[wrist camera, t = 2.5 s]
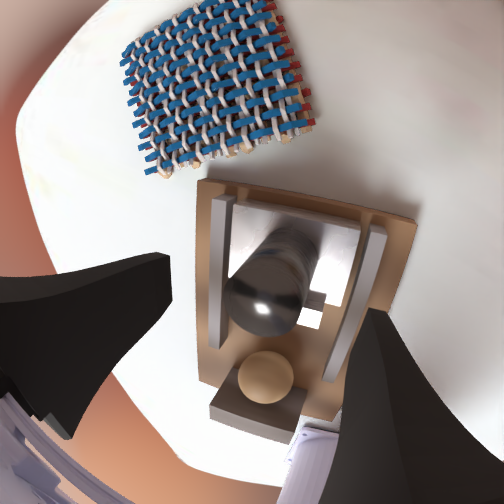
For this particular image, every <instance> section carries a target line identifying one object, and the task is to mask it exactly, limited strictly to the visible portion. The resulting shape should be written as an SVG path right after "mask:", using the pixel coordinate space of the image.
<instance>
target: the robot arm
mask: <svg viewBox="0 0 504 504" xmlns="http://www.w3.org/2000/svg"><path fill="white" fill-rule="evenodd" d="M172 301H173V300H172V286H171V268H170V256H169V255H166V254H162V253H159V252H154V253H147V254H142V255H138V256H134V257H130V258H126V259H122V260H119V261H115V262H111V263H107V264H104V265H99V266H95V267H91V268H87V269H83V270H78V271H73V272H68V273H62V274H55V275H46V276H34V277H0V504H78V503H76V502H75V501H74V500H72V499H71V498H70V497H69V496H68V495H66V494H65V493H64V492H63V491H62V490H60V489H59V488H58V487H57V485H58V484H59V483H60V482H61V480H60V478H59V477H58V476H57V475H56V473H55V472H54V471H53V470H52V469H51V468H50V467H48V465H46V463H44V462H43V461H42V460H41V459H40V458H39V457H38V456H37V455H36V454H35V453H34V452H33V451H32V450H31V449H29V448H28V447H27V446H26V445H25V437H26V438H27V439H28V441H29V442H30V443H31V444H32V445H33V446H34V447H35V448H36V450H38V452H39V453H40V454H41V455H42V456H43V457H44V458H45V459H46V460H47V461H48V462H49V463H50V464H51V465H52V466H53V467H54V468H55V469H56V470H58V471H59V472H60V473H61V474H62V475H63V476H64V477H65V478H66V479H68V480H69V481H70V482H71V483H72V484H73V485H75V486H76V487H77V488H78V489H79V490H81V491H82V492H83V493H84V494H86V495H87V496H88V497H90V498H91V499H92V500H93V501H95V502H96V503H97V504H135V503H133V502H132V501H130V500H128V499H127V498H125V497H124V496H122V495H120V494H119V493H117V492H116V491H114V490H113V489H111V488H110V487H109V486H107V485H106V484H104V483H103V482H102V481H100V480H99V479H97V478H96V477H95V476H93V475H92V474H91V473H89V472H88V471H87V470H86V469H84V468H83V467H82V466H81V465H80V464H78V463H77V462H76V461H75V460H74V459H72V458H71V457H70V456H69V455H68V454H67V453H65V452H64V451H63V450H62V449H61V448H60V447H59V446H58V445H57V444H56V443H55V442H53V440H51V439H50V438H49V437H48V436H47V435H46V434H45V433H44V432H43V431H42V430H41V429H40V427H38V425H37V424H36V423H35V422H34V421H33V420H32V419H31V418H30V417H31V416H32V415H34V416H35V417H36V418H37V419H38V420H39V421H42V420H44V421H45V422H46V423H47V424H48V425H49V426H50V427H51V428H52V429H53V430H54V431H55V432H56V433H57V434H58V435H59V436H60V437H62V438H63V439H65V440H69V439H72V437H73V435H74V433H75V431H76V428H77V426H78V424H79V422H80V420H81V418H82V416H83V414H84V413H85V411H86V409H87V407H88V405H89V404H90V402H91V400H92V398H93V397H94V395H95V394H96V392H97V391H98V389H99V388H100V386H101V385H102V383H103V382H104V380H105V379H106V378H107V376H108V375H109V374H110V372H111V371H112V370H113V368H114V367H115V366H116V364H117V363H118V362H119V361H120V360H121V358H122V357H123V356H124V355H125V354H126V353H127V352H128V351H129V350H130V349H131V348H132V347H133V346H134V345H135V344H136V343H137V342H138V341H139V340H140V339H141V338H142V337H143V336H144V335H145V334H146V333H147V332H148V331H149V330H150V328H151V327H152V326H153V325H154V324H155V323H156V322H157V321H158V320H159V319H160V318H161V316H162V315H163V314H164V312H165V311H166V309H167V308H168V307H169V305H170V304H171V302H172ZM284 462H285V463H286V464H290V465H291V466H290V469H289V471H288V474H287V477H286V480H285V482H284V485H283V488H282V490H281V493H280V496H279V498H278V501H277V503H276V504H504V463H503V462H502V461H501V460H499V459H498V458H497V457H496V456H494V455H493V454H492V453H491V452H489V451H488V450H487V449H486V448H485V447H484V446H483V445H482V444H481V443H480V442H479V441H478V440H477V439H476V438H474V436H473V435H472V434H471V433H470V432H469V431H468V430H467V429H466V428H465V427H464V426H463V425H462V424H461V423H460V421H459V420H458V419H457V418H456V417H455V416H454V415H453V414H452V412H451V411H450V410H449V409H448V408H447V406H446V405H445V404H444V403H443V401H442V400H441V399H440V397H439V396H438V395H437V393H436V392H435V391H434V389H433V388H432V386H431V385H430V384H429V382H428V381H427V379H426V378H425V376H424V375H423V373H422V372H421V370H420V368H419V367H418V365H417V364H416V362H415V361H414V359H413V357H412V356H411V354H410V352H409V351H408V349H407V347H406V345H405V344H404V342H403V340H402V338H401V337H400V335H399V333H398V331H397V330H396V328H395V326H394V324H393V323H392V321H391V319H390V317H389V316H388V314H387V312H386V311H383V310H378V309H374V308H370V307H368V310H367V312H366V315H365V318H364V320H363V323H362V325H361V328H360V330H359V333H358V335H357V338H356V340H355V343H354V345H353V347H352V350H351V352H350V356H349V361H348V366H347V371H346V377H345V385H344V396H343V406H342V415H341V424H340V431H339V434H337V433H332V432H328V431H323V430H318V429H314V428H310V427H303V428H302V429H301V431H300V433H299V435H298V437H297V439H296V441H295V442H294V444H293V446H292V448H291V450H290V452H289V453H288V455H287V457H286V459H285V461H284Z"/></svg>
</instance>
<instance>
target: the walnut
mask: <svg viewBox="0 0 504 504" xmlns="http://www.w3.org/2000/svg"><path fill="white" fill-rule="evenodd" d="M293 380H294V374H293V369H292V367H291V365H290V363H289V361H288V360H287V359H286V358H285V357H284V356H282V355H281V354H279V353H276V352H273V351H259V352H256V353H254V354H252V355H250V356H249V357H247V358H246V359H245V360H244V362H243V363H242V364H241V367H240V369H239V373H238V382H239V386H240V388H241V390H242V392H243V393H244V394H245V395H246V396H247V397H248V398H249V399H251V400H252V401H255V402H258V403H263V404H268V403H273V402H277V401H279V400H281V399H282V398H283V397H285V396H286V395H287V394H288V392H289V391H290V389H291V387H292V385H293Z"/></svg>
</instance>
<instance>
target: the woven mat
mask: <svg viewBox="0 0 504 504" xmlns="http://www.w3.org/2000/svg"><path fill="white" fill-rule="evenodd" d="M203 1H204V2H203V3H202V4H201V5H200V6H199V7H198V4H197V3H195V4H194V6H193V8H187V9H186V10H185V11H184V12H182V13H180V14H181V15H180V17H179V18H177V14H175V15H173V17H172V19H171V20H168V19H167V20H166V21H164V22H163V23H162V24H161V26H160V28H159V25H158V26H155V28H154V30H153V31H151V32H147V33H145V34H144V36H143V37H142V38H141V39H140V37H139V38H137V39H136V40H135V42H134V41H133V42H131V44H129V45H128V46H127V48H126V50H125V51H124V52H123V53H122V57H123V58H125V59H123V60H121V61H120V67H121V66H124V65H126V64H127V63H129V62H130V67H129V69H127V70H126V71H125V75H126V76H129V75H130V77H128V78H126V79H125V80H124V81H123V83H124V86H125V85H128V84H129V83H130V85H131V86H134V87H133V88H132V89H131V90H129V95H130V96H137V95H139V96H137V97H134V98H132V99H130V100H129V101H127V103H128V106H132V105H133V104H135V103H137V106H138V107H139V108H138V109H137V110H136V111H134V112H133V113H134V116H135V117H141V116H142V115H144V114H145V117H144V118H142V119H139V120H137V121H135V122H133V123H132V125H133V128H137V127H138V126H140V125H141V128H143V127H146V126H147V125H148V126H149V127H148V128H146V129H145V130H144V131H143V132H141V133H140V134H139V138H140V139H145V138H148V137H150V136H151V138H150V141H148V142H145V143H143V144H140V145H138V149H139V151H141V150H144V149H145V150H148V149H151V148H154V149H155V152H153V153H151V154H149V155H148V156H146V157H145V161H146V162H150V161H154V160H156V159H158V160H157V166H154V167H151V168H148V169H146V170H144V171H145V174H146V175H149V174H151V173H157V172H158V173H159V174H160V175H161V176H162V177H163V178H166V179H168V178H169V177H170V176H171V175H172V171H171V170H172V167H173V166H175V167H176V168H177V169H178V170H181V168H182V167H185V168H186V167H188V166H187V162H186V161H189V166H190V167H191V166H192V167H193V168H194V169H196V168H199V167H200V164H201V162H202V163H203V162H205V161H206V160H205V158H204V157H203V156H204V155H207V154H208V155H209V156H210V160H214V159H215V156H217V154H218V157H219V156H223V153H222V149H223V151H224V152H225V154H226V156H227V158H230V157H233V156H236V155H237V154H236V153H237V152H239V147H240V148H241V150H242V151H243V152H244V153H247V154H249V153H250V152H252V151H253V150H254V149H253V146H252V143H251V141H255V144H256V145H257V144H260V140H259V139H260V138H261V141H262V144H268V141H270V140H271V138H270V136H271V135H274V134H275V136H276V138H277V141H281V142H282V143H283V144H286V143H289V142H291V138H294V137H293V130H294V131H295V135H296V136H298V135H300V132H299V128H301V131H302V133H306V132H310V131H312V127H311V125H316V123H315V119H314V118H312V119H310V118H309V114H308V110H312V109H311V105H310V103H306V104H305V101H304V97H307V96H309V95H311V91H310V89H308V88H305V89H303V90H301V86H300V84H299V82H300V81H303V79H302V76H301V74H299V75H296V72H295V68H299V67H301V65H300V62H299V61H297V62H292V60H291V57H290V56H292V55H295V54H294V51H293V49H292V48H290V49H287V46H286V43H289V42H290V41H289V38H288V36H284V37H283V35H282V32H284V31H286V30H285V28H284V25H283V24H282V25H279V24H280V23H281V22H282V21H284V19H283V16H277V17H276V15H275V13H274V12H273V10H275V9H277V7H276V5H275V4H274V3H272V4H270V1H273V0H203ZM239 15H240V16H239ZM199 21H200V22H199ZM218 24H219V25H218ZM158 28H159V29H158ZM166 28H167V29H166ZM155 36H156V37H155ZM139 40H140V41H139ZM246 43H247V45H244V44H246ZM211 45H212V46H211ZM273 47H275V50H274V48H273ZM232 48H233V49H232ZM230 49H232V50H230ZM248 55H249V56H248ZM236 61H237V62H236ZM136 67H137V68H136ZM252 68H255V70H252ZM216 69H218V70H216ZM238 72H241V73H240V74H237V73H238ZM281 72H283V74H284V76H282V73H281ZM198 75H200V76H199V77H198ZM222 78H223V79H224V80H222V81H221V80H220V79H222ZM258 79H259V80H260V81H259V82H257V83H256V81H255V80H258ZM187 80H188V82H184V81H187ZM156 84H157V86H154V85H156ZM243 84H244V88H242V86H241V85H243ZM286 85H287V86H286ZM153 86H154V87H153ZM203 86H204V89H203V88H202V87H203ZM287 87H288V88H287ZM168 90H169V92H168ZM226 91H227V94H226V95H224V92H226ZM190 92H191V94H190V95H188V94H189V93H190ZM261 94H263V97H260V96H259V95H261ZM187 95H188V96H187ZM186 96H187V97H186ZM245 99H247V101H246V102H245ZM205 100H207V101H206V102H205ZM285 101H286V103H287V106H285V103H284V102H285ZM228 103H231V107H229V106H228V105H227V104H228ZM192 104H194V107H191V106H190V105H192ZM162 105H163V108H162V109H159V110H157V109H156V108H158V107H160V106H162ZM264 106H267V107H268V111H266V112H264V109H263V107H264ZM209 110H212V114H211V113H210V112H209ZM250 110H253V114H254V116H251V115H250V113H249V111H250ZM174 112H176V114H175V115H174ZM295 113H296V114H297V118H298V120H296V116H295ZM287 115H290V117H291V120H292V121H289V118H288V116H287ZM194 116H197V117H198V119H197V120H196V121H194V122H193V117H194ZM232 116H234V117H235V122H233V123H231V117H232ZM163 117H166V118H165V119H164V120H162V121H161V122H160V123H159V119H161V118H163ZM268 120H272V127H269V128H268V126H267V122H266V121H268ZM215 122H216V124H217V126H216V127H215ZM177 124H179V126H178V127H177ZM254 124H257V127H258V130H256V128H255V126H254ZM249 126H250V129H251V133H249V132H250V129H249ZM164 129H166V130H165V133H164V134H163V133H162V130H164ZM196 129H198V132H197V130H196ZM234 130H236V133H235V132H234ZM219 135H220V142H219V138H218V136H219ZM180 137H182V141H180V140H179V138H180ZM212 139H213V140H214V142H213V140H212ZM165 143H167V144H168V145H169V146H167V147H166V146H165ZM214 143H215V144H214ZM201 145H202V146H203V148H202V149H201ZM183 148H184V149H185V150H186V151H187V153H184V149H183ZM170 153H173V154H172V159H171V160H170V158H169V156H168V154H170ZM179 164H180V166H181V168H180V166H179Z"/></svg>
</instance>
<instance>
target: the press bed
mask: <svg viewBox="0 0 504 504" xmlns="http://www.w3.org/2000/svg"><path fill="white" fill-rule="evenodd" d="M244 198H248V199H254V200H259V201H264V202H270V203H275V204H280V205H285V206H290V207H295V208H300V209H305V210H310V211H315V212H319V213H324V214H328V215H333V216H337V217H342V218H346V219H350V220H355V221H359V222H360V227H361V232H360V237H359V241H358V245H357V249H356V252H355V256H354V260H353V264H352V268H351V271H350V275H349V278H348V282H347V285H346V289H345V292H344V295H343V299H342V302H341V305H340V306H336V305H332V304H328V303H325V304H324V308H323V313H322V316H321V319H320V323H319V326H318V329H317V328H313V327H309V326H305V325H301V324H298V323H297V324H296V325H295V326H294V328H293V329H292V330H290V331H289V332H288V333H286V334H284V335H281V336H277V337H261V336H257V335H254V334H251V333H249V332H247V331H245V330H244V329H242V328H241V327H239V326H238V325H237V324H236V323H235V322H234V321H233V320H232V319H231V317H230V316H229V314H228V312H227V310H226V308H225V305H224V301H223V291H224V287H225V285H226V283H227V281H228V280H229V277H228V274H229V259H230V244H231V229H232V215H233V204H235V203H237V202H238V201H240V200H242V199H244ZM417 226H418V225H417V224H416V222H415V221H414V220H412V219H409V218H405V217H401V216H398V215H394V214H390V213H386V212H382V211H378V210H374V209H370V208H366V207H361V206H357V205H353V204H348V203H344V202H340V201H335V200H330V199H326V198H321V197H316V196H311V195H306V194H301V193H296V192H290V191H285V190H280V189H274V188H268V187H262V186H256V185H250V184H244V183H238V182H231V181H224V180H217V179H210V178H204V179H201V180H198V181H197V202H196V250H195V282H196V329H197V354H198V373H199V381H201V382H204V383H206V384H209V385H211V386H214V387H216V388H219V390H218V392H217V393H216V395H215V396H214V398H213V400H212V401H211V403H210V405H209V407H210V419H213V420H215V421H218V422H220V423H223V424H225V425H228V426H231V427H234V428H236V429H239V430H242V431H245V432H248V433H251V434H254V435H257V436H260V437H263V438H267V439H270V440H274V441H277V442H281V443H284V444H288V445H289V443H290V441H291V439H292V437H293V435H294V433H295V430H296V427H297V424H298V421H299V417H300V414H301V415H305V416H309V417H313V418H317V419H322V420H326V421H331V422H332V421H333V419H334V417H335V416H336V414H337V412H338V411H339V409H340V407H341V406H342V404H343V396H344V385H345V377H346V371H347V366H348V361H349V356H350V352H351V350H352V347H353V345H354V343H355V340H356V338H357V335H358V333H359V330H360V328H361V325H362V323H363V320H364V318H365V315H366V312H367V310H368V307H370V308H374V309H378V310H383V311H386V312H387V313H388V311H389V308H390V306H391V303H392V301H393V298H394V296H395V293H396V290H397V288H398V285H399V282H400V279H401V277H402V274H403V271H404V268H405V265H406V262H407V259H408V256H409V253H410V250H411V246H412V243H413V240H414V236H415V233H416V229H417ZM259 351H273V352H276V353H279V354H281V355H282V356H284V357H285V358H286V359H287V360H288V361H289V363H290V365H291V367H292V369H293V374H294V380H293V385H292V387H291V389H290V391H289V392H288V394H287V395H286V396H285V397H283V398H282V399H281V400H279V401H277V402H273V403H268V404H263V403H258V402H255V401H252V400H251V399H249V398H248V397H247V396H246V395H245V394H244V393H243V392H242V390H241V388H240V386H239V382H238V373H239V369H240V367H241V364H242V363H243V362H244V360H245V359H246V358H247V357H249V356H250V355H252V354H254V353H256V352H259Z"/></svg>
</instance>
